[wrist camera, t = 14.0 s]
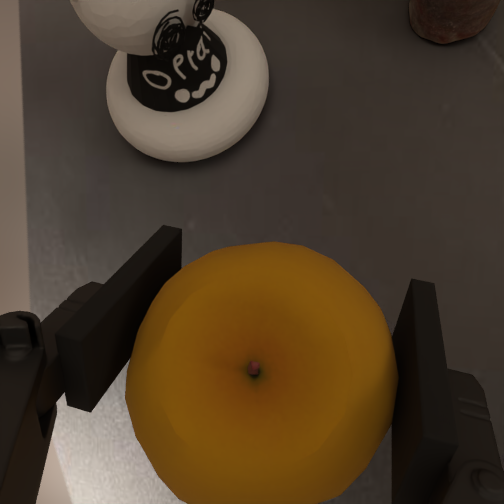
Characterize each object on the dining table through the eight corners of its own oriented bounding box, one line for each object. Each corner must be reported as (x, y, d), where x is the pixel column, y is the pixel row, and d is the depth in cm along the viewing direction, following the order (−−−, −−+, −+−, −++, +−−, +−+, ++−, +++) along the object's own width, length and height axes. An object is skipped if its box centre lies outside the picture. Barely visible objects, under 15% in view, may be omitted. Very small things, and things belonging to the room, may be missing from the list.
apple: (248, 525, 18) (195, 658, 10) (140, 351, 20) (22, 333, 12) (414, 396, 19) (503, 413, 10) (290, 241, 21) (278, 150, 12)
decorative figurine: (178, 202, 40) (52, 55, 21) (91, 99, 44) (-83, -106, 25) (304, 99, 41) (294, -136, 22) (207, 6, 45) (126, -263, 26)
